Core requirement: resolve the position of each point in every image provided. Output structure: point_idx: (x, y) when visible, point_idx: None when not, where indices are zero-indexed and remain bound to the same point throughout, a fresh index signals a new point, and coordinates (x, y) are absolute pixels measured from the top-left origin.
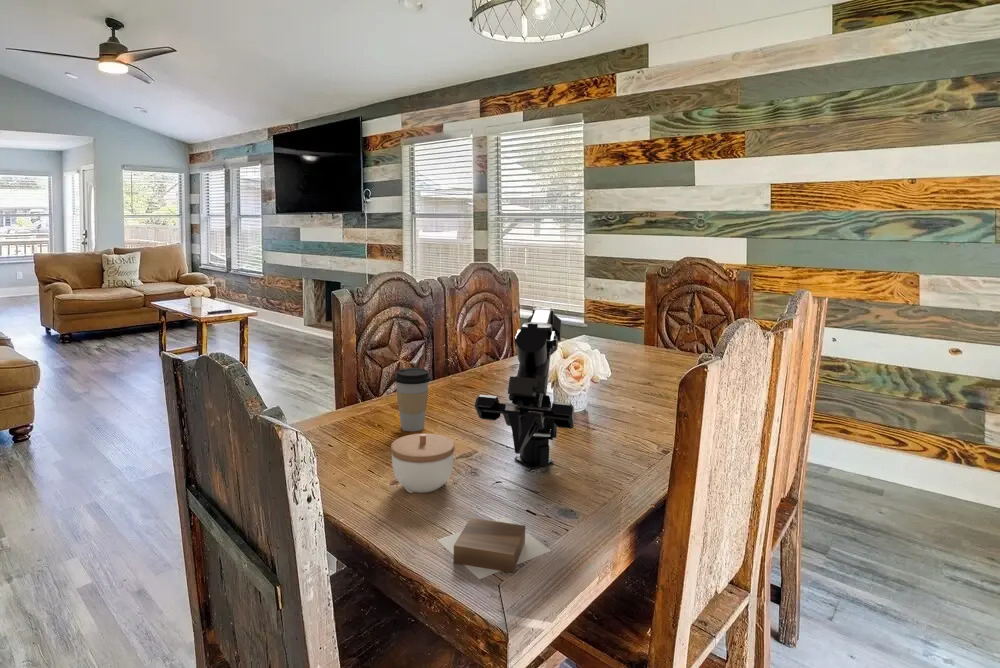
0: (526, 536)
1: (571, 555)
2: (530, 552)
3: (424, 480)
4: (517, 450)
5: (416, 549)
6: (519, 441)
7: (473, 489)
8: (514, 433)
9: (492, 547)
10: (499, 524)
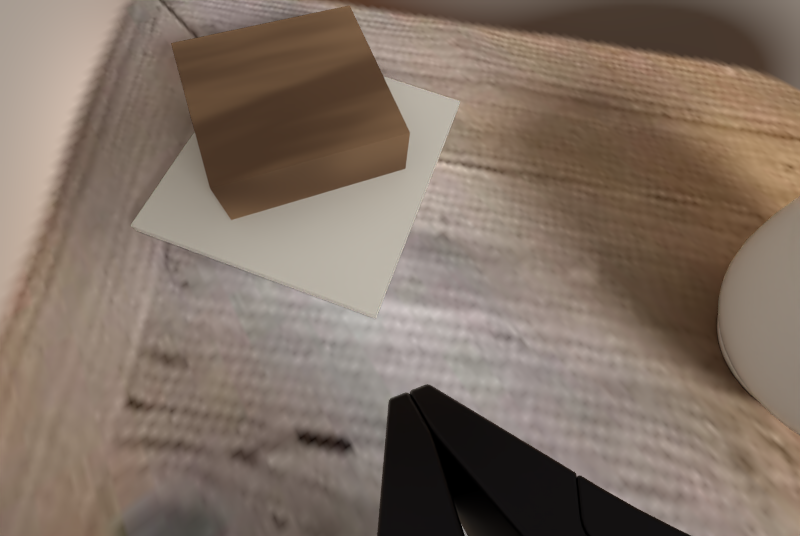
0: (242, 251)
1: (70, 260)
2: (190, 183)
3: (751, 235)
4: (404, 393)
5: (477, 68)
6: (426, 450)
7: (641, 463)
8: (548, 482)
9: (247, 43)
10: (298, 147)
